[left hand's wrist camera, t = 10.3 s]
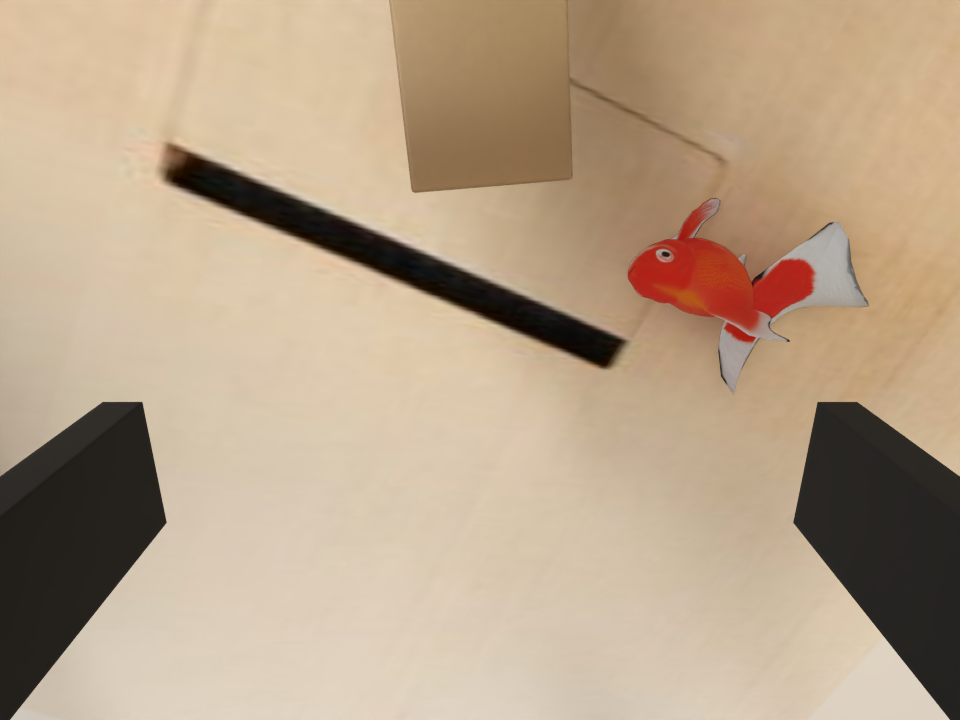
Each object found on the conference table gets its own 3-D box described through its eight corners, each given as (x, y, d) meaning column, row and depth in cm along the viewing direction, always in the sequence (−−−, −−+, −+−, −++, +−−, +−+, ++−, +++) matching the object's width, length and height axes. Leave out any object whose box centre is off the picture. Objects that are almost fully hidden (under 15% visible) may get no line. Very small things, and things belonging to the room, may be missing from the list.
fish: (708, 104, 34) (802, 221, 27) (850, 215, 42) (947, 323, 36) (576, 245, 40) (628, 367, 34) (724, 317, 48) (787, 425, 42)
